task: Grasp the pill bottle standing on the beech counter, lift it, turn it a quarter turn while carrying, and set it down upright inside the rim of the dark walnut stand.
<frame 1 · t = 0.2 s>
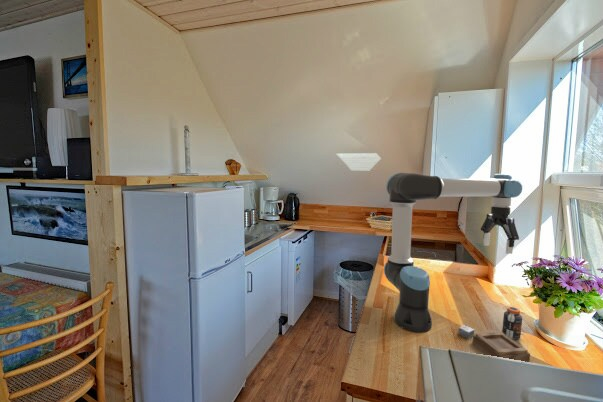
hand: (497, 249, 136), 28 cm above the kitchen counter, fingers open, 13 cm apart
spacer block: (466, 335, 113), on the kitchen counter
pill bottle: (510, 335, 112), on the kitchen counter
stand: (499, 351, 102), on the kitchen counter
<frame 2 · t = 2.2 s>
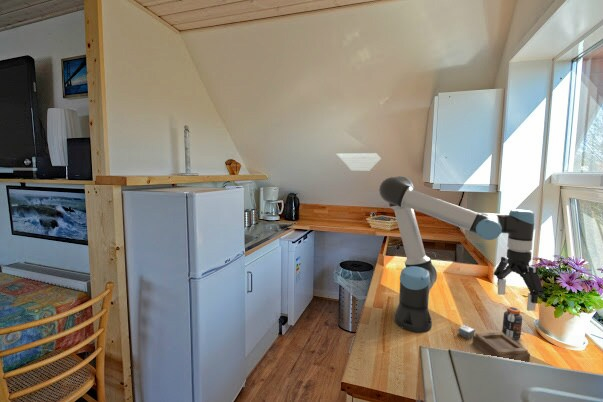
hand: (515, 301, 111), 14 cm above the kitchen counter, fingers open, 13 cm apart
nothing on the kitchen counter moved.
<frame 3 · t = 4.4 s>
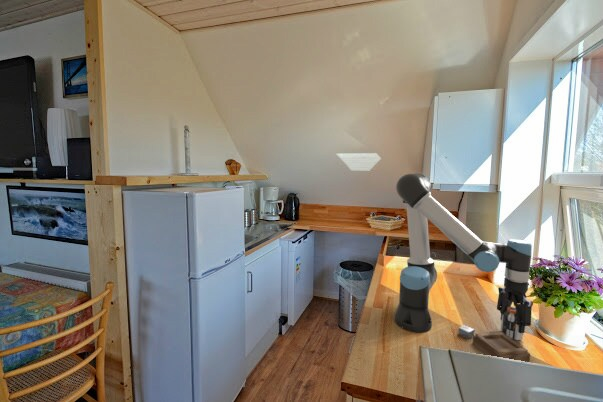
hand: (511, 334, 112), 0 cm above the kitchen counter, fingers closed on pill bottle, 6 cm apart
pill bottle: (511, 335, 112), on the kitchen counter, touching gripper
everything else where it was.
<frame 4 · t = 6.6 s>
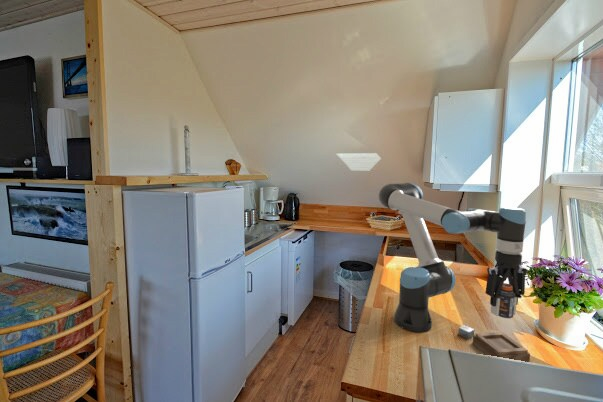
hand: (502, 313, 101), 15 cm above the kitchen counter, fingers closed on pill bottle, 6 cm apart
pill bottle: (502, 315, 101), point 14 cm above the kitchen counter, touching gripper
everything else where it was.
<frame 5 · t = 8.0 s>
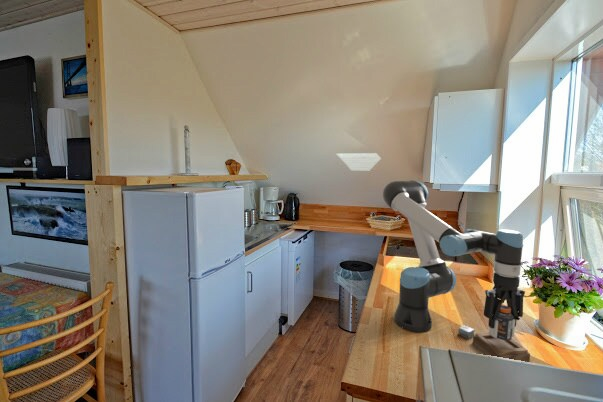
hand: (501, 335, 101), 7 cm above the kitchen counter, fingers closed on pill bottle, 6 cm apart
pill bottle: (501, 336, 101), point 6 cm above the kitchen counter, touching gripper
everything else where it was.
when the fingers open (5 cm above the kitchen counter, at t = 9.1 s): pill bottle drops 1 cm, resting on stand.
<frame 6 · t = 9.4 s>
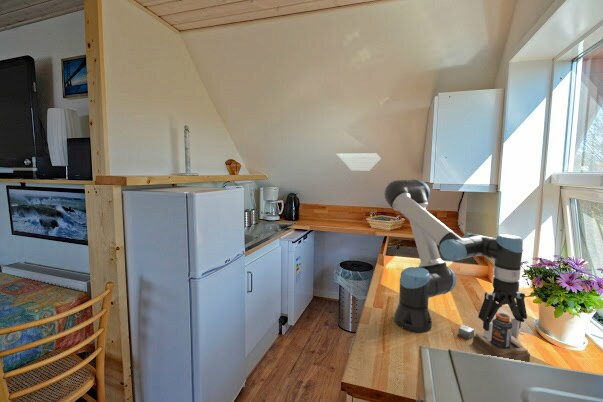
hand: (500, 337, 102), 6 cm above the kitchen counter, fingers open, 10 cm apart
pill bottle: (500, 344, 102), point 3 cm above the kitchen counter, touching stand
everything else where it was.
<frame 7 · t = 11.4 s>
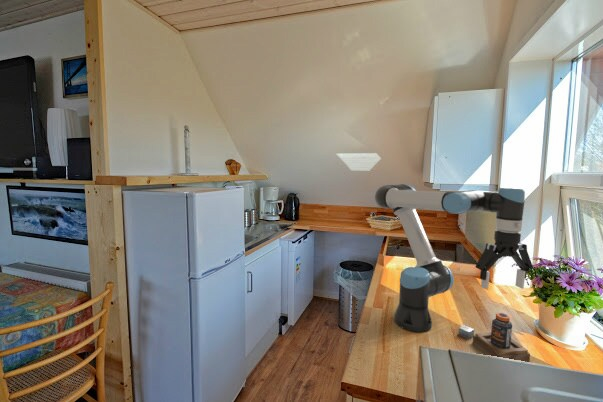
hand: (502, 287, 102), 24 cm above the kitchen counter, fingers open, 13 cm apart
nothing on the kitchen counter moved.
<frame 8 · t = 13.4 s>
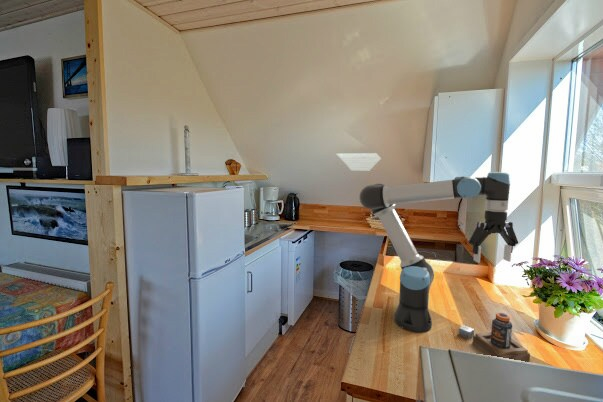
hand: (491, 261, 116), 29 cm above the kitchen counter, fingers open, 13 cm apart
nothing on the kitchen counter moved.
at the end: pill bottle inside the target area on the stand (0.0 cm from its centre), point 2.8 cm above the stand's base; pill bottle tilted 0°; the gripper is holding nothing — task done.
